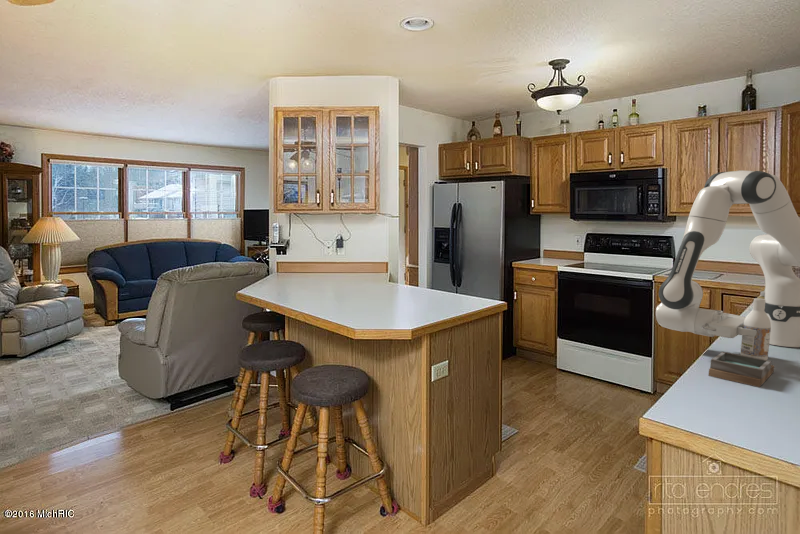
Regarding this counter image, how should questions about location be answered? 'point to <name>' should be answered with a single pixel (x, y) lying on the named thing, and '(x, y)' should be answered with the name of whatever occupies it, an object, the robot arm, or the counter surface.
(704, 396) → the counter surface
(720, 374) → the tray
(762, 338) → the bath foam
